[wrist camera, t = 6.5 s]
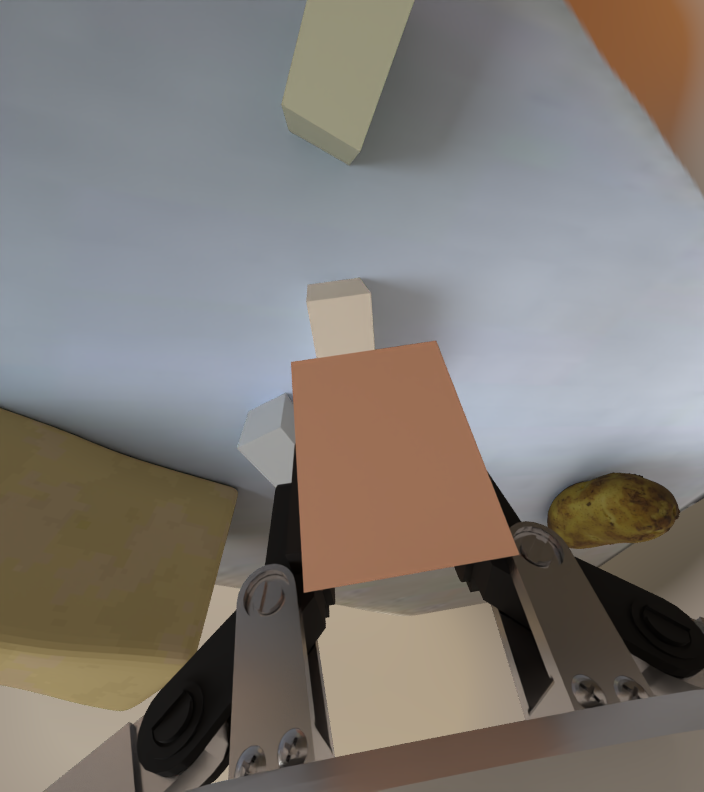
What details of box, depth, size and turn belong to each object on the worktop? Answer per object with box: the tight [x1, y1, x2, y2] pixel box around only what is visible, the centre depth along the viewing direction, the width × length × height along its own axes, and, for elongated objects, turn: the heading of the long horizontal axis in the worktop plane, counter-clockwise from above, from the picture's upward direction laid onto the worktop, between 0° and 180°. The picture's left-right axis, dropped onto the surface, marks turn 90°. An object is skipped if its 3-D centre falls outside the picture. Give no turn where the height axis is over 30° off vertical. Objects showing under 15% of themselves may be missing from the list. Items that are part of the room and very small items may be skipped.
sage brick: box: [281, 0, 414, 165], centre depth 14 cm, size 7×4×5 cm, turn 156°
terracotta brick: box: [291, 341, 519, 593], centre depth 9 cm, size 7×4×5 cm, turn 5°
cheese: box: [0, 408, 238, 711], centre depth 22 cm, size 22×10×15 cm, turn 45°
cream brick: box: [306, 278, 375, 358], centre depth 22 cm, size 7×4×5 cm, turn 6°
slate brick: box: [237, 393, 296, 488], centre depth 26 cm, size 7×4×5 cm, turn 26°
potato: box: [547, 473, 680, 549], centre depth 34 cm, size 8×13×8 cm, turn 142°
